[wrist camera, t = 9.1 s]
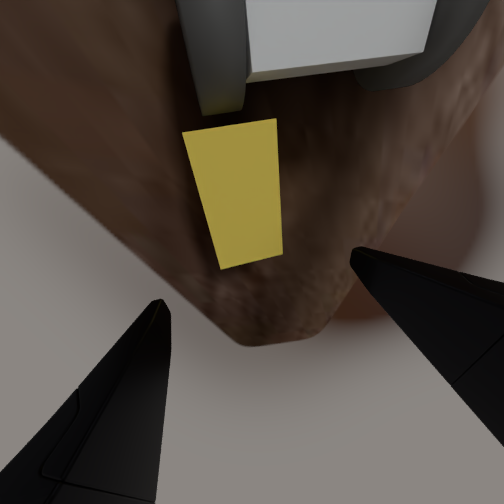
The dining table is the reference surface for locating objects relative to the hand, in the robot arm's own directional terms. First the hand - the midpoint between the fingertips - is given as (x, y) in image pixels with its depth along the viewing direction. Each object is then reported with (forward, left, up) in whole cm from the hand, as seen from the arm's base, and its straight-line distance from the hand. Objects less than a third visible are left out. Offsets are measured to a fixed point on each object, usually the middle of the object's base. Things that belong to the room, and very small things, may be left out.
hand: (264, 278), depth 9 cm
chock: (0, -2, -9) cm, 9 cm away
